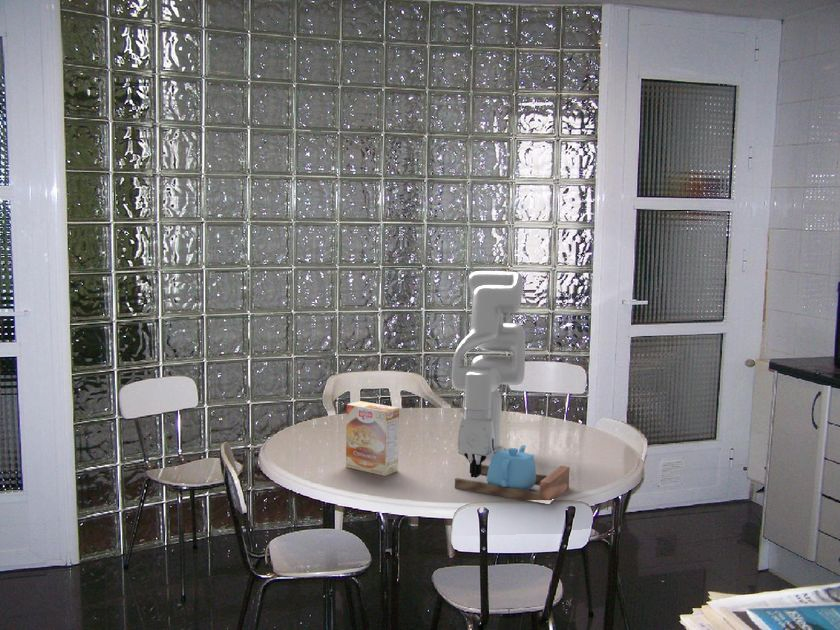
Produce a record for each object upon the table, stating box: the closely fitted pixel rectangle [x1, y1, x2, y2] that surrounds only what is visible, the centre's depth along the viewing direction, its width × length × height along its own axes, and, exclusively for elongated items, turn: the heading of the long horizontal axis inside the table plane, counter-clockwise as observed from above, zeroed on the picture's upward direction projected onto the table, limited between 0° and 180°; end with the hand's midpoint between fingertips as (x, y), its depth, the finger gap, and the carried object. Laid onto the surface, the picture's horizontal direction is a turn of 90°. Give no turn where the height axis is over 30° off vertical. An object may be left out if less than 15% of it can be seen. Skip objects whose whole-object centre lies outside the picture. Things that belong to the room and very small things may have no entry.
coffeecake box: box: [345, 400, 400, 477], centre depth 237 cm, size 15×7×20 cm, turn 56°
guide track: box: [454, 464, 570, 501], centre depth 223 cm, size 28×17×6 cm, turn 62°
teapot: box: [486, 444, 537, 491], centre depth 222 cm, size 12×18×12 cm
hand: (475, 476), depth 229 cm, fingers closed
